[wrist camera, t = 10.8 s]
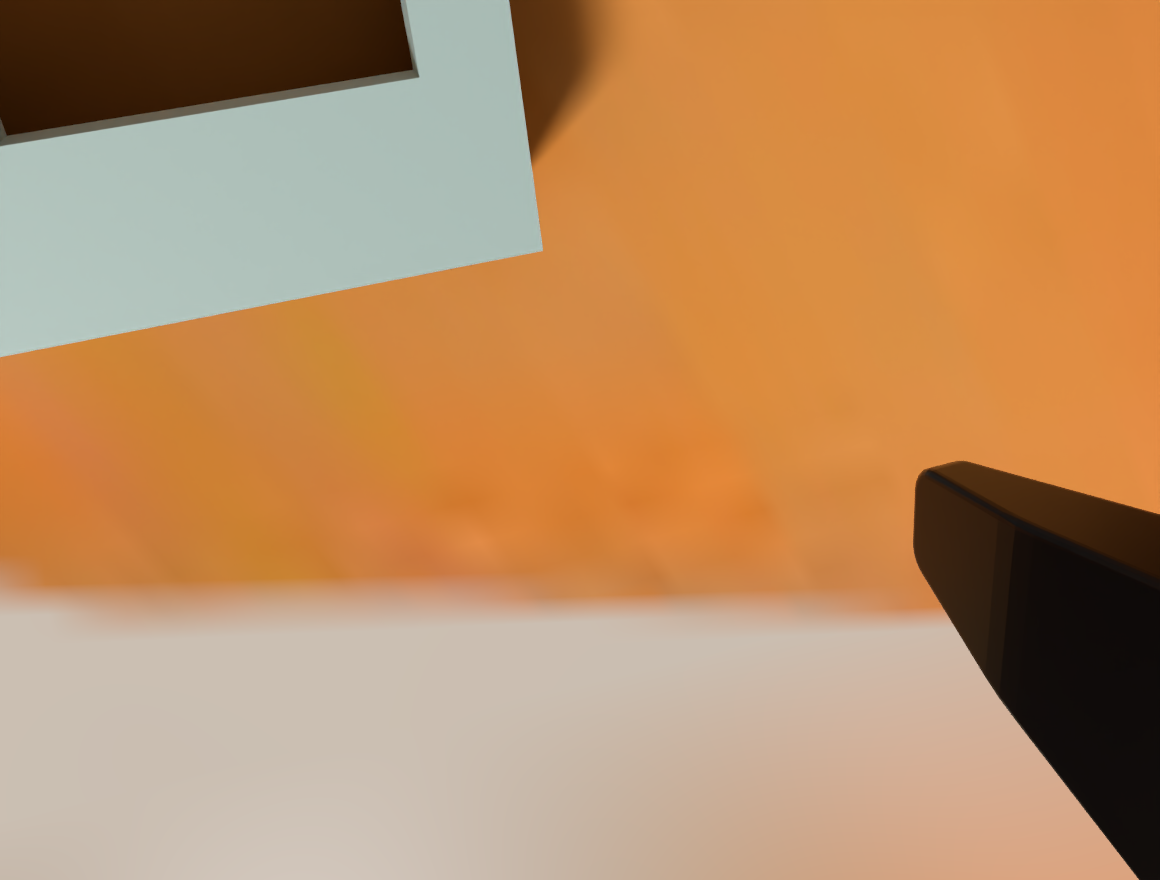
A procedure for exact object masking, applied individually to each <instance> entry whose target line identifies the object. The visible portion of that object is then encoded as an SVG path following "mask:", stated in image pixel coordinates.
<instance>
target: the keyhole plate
mask: <svg viewBox="0 0 1160 880" xmlns="http://www.w3.org/2000/svg"><path fill="white" fill-rule="evenodd" d="M401 6H402V11H403V17H404V22H405V28H406V34H407V39H408V45H409V50H410V56H411V61H412V67H413V70H408V71H402V72H396V73H390V74H383V75H377V76H371V77H365V78H359V79H353V80H347V81H340V82H334V83H328V84H322V85H316V86H310V87H304V88H297V89H291V90H285V91H279V92H273V93H267V94H261V95H254V96H248V97H242V98H236V99H230V100H224V101H218V102H211V103H205V104H199V105H193V106H187V107H181V108H175V109H168V110H162V111H156V112H150V113H144V114H138V115H132V116H125V117H119V118H113V119H107V120H101V121H95V122H89V123H82V124H76V125H70V126H64V127H58V128H52V129H45V130H39V131H33V132H27V133H21V134H15V135H9V136H7V135H6V132H5V129H4V127H3V124H2V121H1V118H0V357H3V356H8V355H13V354H18V353H23V352H28V351H34V350H39V349H44V348H49V347H54V346H59V345H64V344H69V343H74V342H79V341H85V340H90V339H95V338H100V337H105V336H110V335H115V334H120V333H125V332H131V331H136V330H141V329H146V328H151V327H156V326H161V325H166V324H171V323H177V322H182V321H187V320H192V319H197V318H202V317H207V316H212V315H217V314H222V313H228V312H233V311H238V310H243V309H248V308H253V307H258V306H263V305H268V304H274V303H279V302H284V301H289V300H294V299H299V298H304V297H309V296H314V295H319V294H325V293H330V292H335V291H340V290H345V289H350V288H355V287H360V286H365V285H371V284H376V283H381V282H386V281H391V280H396V279H401V278H406V277H411V276H417V275H422V274H427V273H432V272H437V271H442V270H447V269H452V268H457V267H462V266H468V265H473V264H478V263H483V262H488V261H493V260H498V259H503V258H508V257H514V256H519V255H524V254H529V253H534V252H539V251H543V247H542V240H541V232H540V225H539V217H538V210H537V203H536V195H535V188H534V181H533V173H532V166H531V159H530V151H529V144H528V136H527V129H526V122H525V114H524V107H523V100H522V92H521V85H520V78H519V70H518V63H517V55H516V48H515V41H514V33H513V26H512V19H511V11H510V4H509V0H401Z"/></svg>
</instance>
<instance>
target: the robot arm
mask: <svg viewBox="0 0 1160 880" xmlns="http://www.w3.org/2000/svg"><path fill="white" fill-rule="evenodd" d="M913 548H914V554H915V558H916V561H917V564H918V566H919V568H920V570H921V572H922V574H923V576H924V577H925V579H926V580H927V582H928V584H929V585H930V587H931V589H932V590H933V592H934V594H935V595H936V597H937V599H938V600H939V602H940V603H941V605H942V607H943V608H944V610H945V612H946V613H947V615H948V617H949V618H950V620H951V621H952V623H953V625H954V626H955V628H956V630H957V631H958V633H959V635H960V636H961V638H962V639H963V641H964V643H965V644H966V646H967V648H968V649H969V651H970V653H971V654H972V656H973V657H974V659H975V661H976V662H977V664H978V665H979V667H980V669H981V670H982V672H983V674H984V675H985V677H986V679H987V680H988V682H989V683H990V685H991V686H992V688H993V689H994V691H995V692H996V694H997V695H998V697H999V698H1000V700H1001V701H1002V702H1003V704H1004V705H1005V706H1006V708H1007V709H1008V710H1009V712H1010V713H1011V715H1012V716H1013V717H1014V718H1015V720H1016V721H1017V722H1018V724H1019V725H1020V726H1021V728H1022V729H1023V730H1024V731H1025V733H1026V734H1027V735H1028V737H1029V738H1030V739H1031V741H1032V742H1033V743H1034V744H1035V746H1036V747H1037V748H1038V750H1039V751H1040V752H1041V753H1042V755H1043V756H1044V757H1045V758H1046V760H1047V761H1048V762H1049V764H1050V765H1051V766H1052V768H1053V769H1054V770H1055V771H1056V773H1057V774H1058V775H1059V777H1060V778H1061V779H1062V780H1063V782H1064V783H1065V785H1066V786H1067V787H1068V788H1069V790H1070V791H1071V792H1072V794H1073V795H1074V796H1075V797H1076V799H1077V800H1078V801H1079V802H1080V804H1081V805H1082V807H1083V808H1084V809H1085V810H1086V812H1087V813H1088V814H1089V816H1090V817H1091V818H1092V819H1093V821H1094V822H1095V823H1096V825H1097V826H1098V827H1099V828H1100V830H1101V831H1102V832H1103V834H1104V835H1105V836H1106V838H1107V839H1108V840H1109V841H1110V843H1111V844H1112V845H1113V847H1114V848H1115V849H1116V850H1117V852H1118V853H1119V854H1120V855H1121V857H1122V858H1123V859H1124V861H1125V862H1126V863H1127V865H1128V866H1129V867H1130V869H1131V870H1132V871H1133V872H1134V874H1135V875H1136V876H1137V878H1138V879H1139V880H1160V514H1156V513H1153V512H1149V511H1145V510H1142V509H1138V508H1134V507H1131V506H1127V505H1123V504H1120V503H1116V502H1113V501H1109V500H1105V499H1102V498H1098V497H1094V496H1091V495H1087V494H1083V493H1080V492H1076V491H1073V490H1069V489H1065V488H1062V487H1058V486H1054V485H1051V484H1047V483H1043V482H1040V481H1036V480H1033V479H1029V478H1025V477H1022V476H1018V475H1014V474H1011V473H1007V472H1003V471H1000V470H996V469H993V468H989V467H985V466H982V465H978V464H974V463H971V462H967V461H955V462H951V463H947V464H944V465H940V466H936V467H932V468H928V469H925V470H923V471H922V472H921V473H920V475H919V476H918V478H917V481H916V487H915V508H914V534H913Z"/></svg>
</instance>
